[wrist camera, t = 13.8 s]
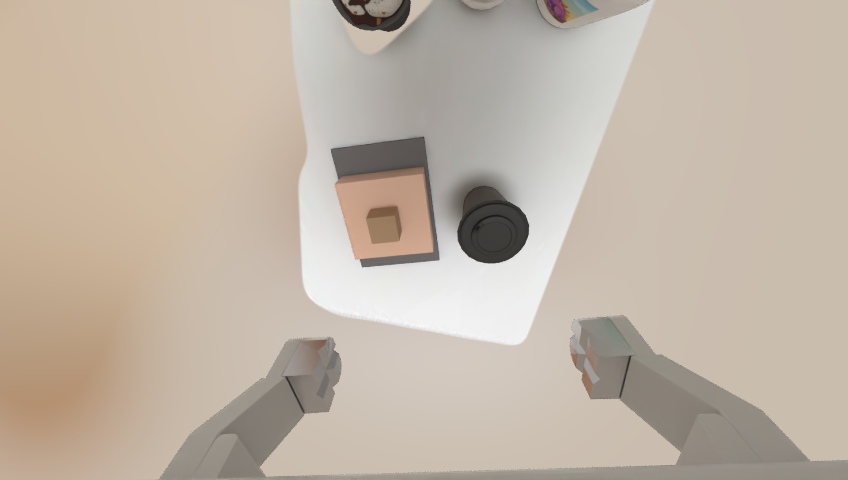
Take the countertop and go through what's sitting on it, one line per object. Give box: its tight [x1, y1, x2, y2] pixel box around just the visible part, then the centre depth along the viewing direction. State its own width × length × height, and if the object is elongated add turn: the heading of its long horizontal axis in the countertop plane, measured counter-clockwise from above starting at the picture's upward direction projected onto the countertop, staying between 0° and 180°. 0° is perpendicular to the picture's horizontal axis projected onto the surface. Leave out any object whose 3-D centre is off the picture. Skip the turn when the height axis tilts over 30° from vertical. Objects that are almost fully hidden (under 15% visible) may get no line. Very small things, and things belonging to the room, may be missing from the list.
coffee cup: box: [457, 186, 529, 263], centre depth 39 cm, size 8×8×10 cm
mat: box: [331, 137, 439, 267], centre depth 44 cm, size 18×12×1 cm, turn 8°
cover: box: [335, 167, 433, 259], centre depth 41 cm, size 11×11×6 cm
